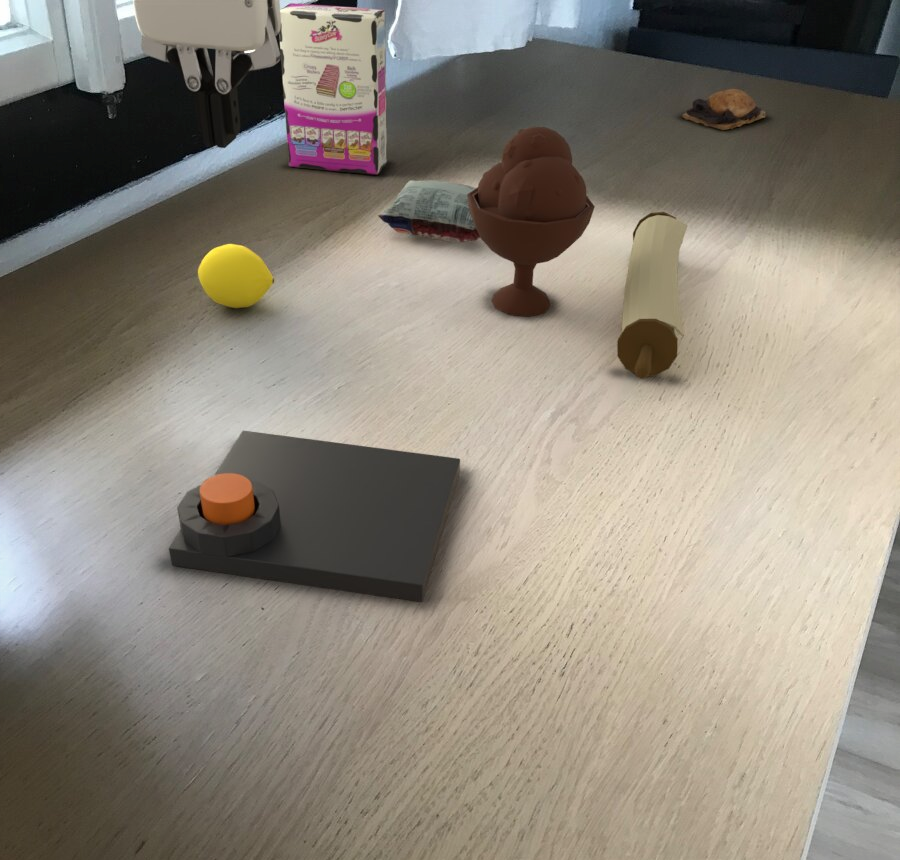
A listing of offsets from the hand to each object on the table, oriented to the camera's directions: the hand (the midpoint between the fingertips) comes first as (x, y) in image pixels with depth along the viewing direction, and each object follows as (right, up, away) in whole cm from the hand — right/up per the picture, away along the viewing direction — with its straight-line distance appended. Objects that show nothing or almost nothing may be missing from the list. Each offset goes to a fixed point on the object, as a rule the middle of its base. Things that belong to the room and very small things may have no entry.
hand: (221, 141), depth 79 cm
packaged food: (+18, +2, +24) cm, 30 cm away
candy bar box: (+5, +15, +39) cm, 42 cm away
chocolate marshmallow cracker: (+57, +31, +60) cm, 89 cm away
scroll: (+37, -11, +12) cm, 40 cm away
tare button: (+5, -31, -18) cm, 36 cm away
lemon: (-1, -10, +10) cm, 14 cm away
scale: (+10, -32, -13) cm, 36 cm away
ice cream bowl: (+25, -9, +12) cm, 30 cm away
